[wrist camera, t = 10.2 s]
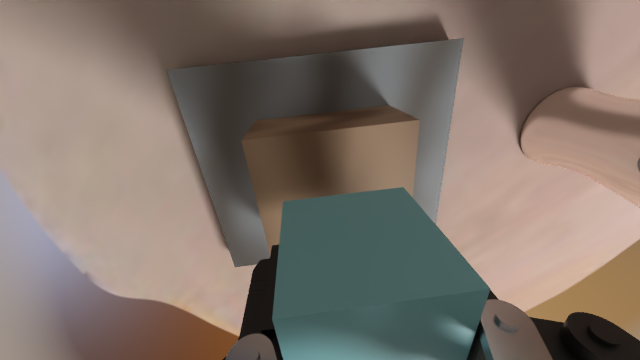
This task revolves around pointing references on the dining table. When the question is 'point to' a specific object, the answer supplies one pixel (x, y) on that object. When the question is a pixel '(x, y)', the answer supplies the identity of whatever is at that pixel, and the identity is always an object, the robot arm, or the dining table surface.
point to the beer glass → (588, 137)
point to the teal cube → (372, 282)
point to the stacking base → (310, 92)
